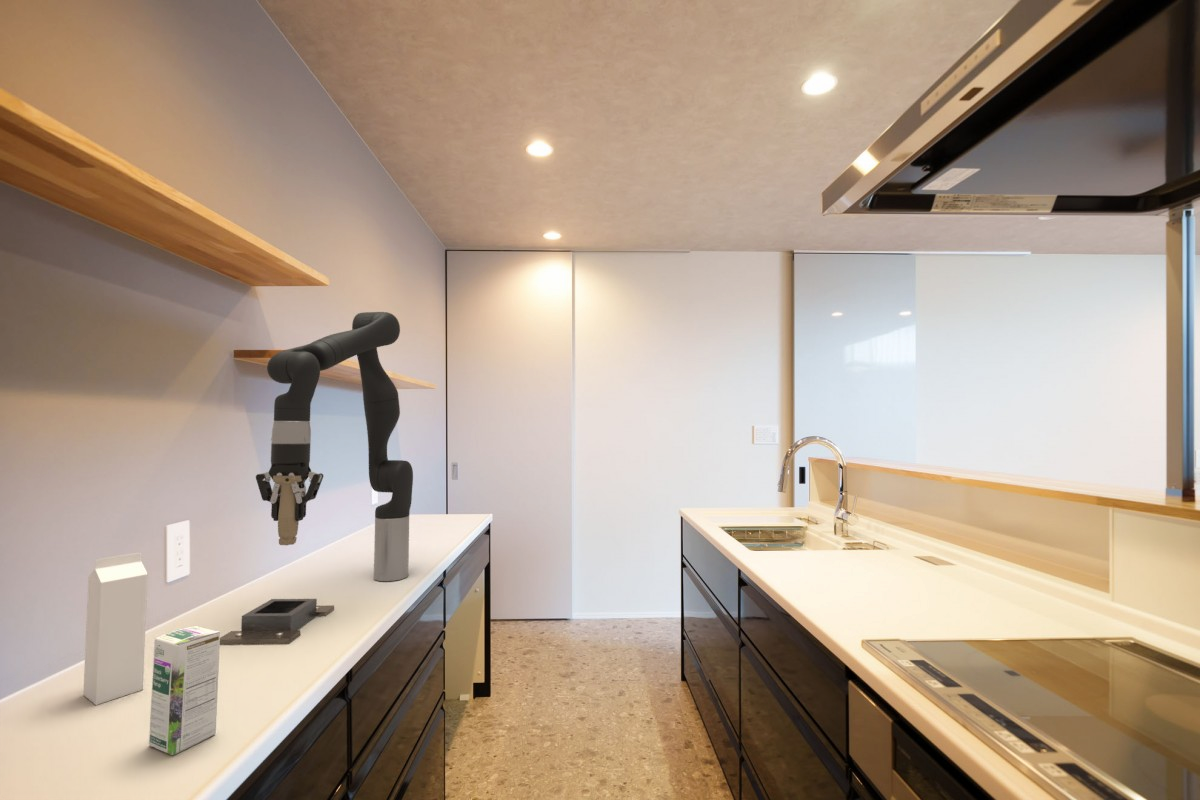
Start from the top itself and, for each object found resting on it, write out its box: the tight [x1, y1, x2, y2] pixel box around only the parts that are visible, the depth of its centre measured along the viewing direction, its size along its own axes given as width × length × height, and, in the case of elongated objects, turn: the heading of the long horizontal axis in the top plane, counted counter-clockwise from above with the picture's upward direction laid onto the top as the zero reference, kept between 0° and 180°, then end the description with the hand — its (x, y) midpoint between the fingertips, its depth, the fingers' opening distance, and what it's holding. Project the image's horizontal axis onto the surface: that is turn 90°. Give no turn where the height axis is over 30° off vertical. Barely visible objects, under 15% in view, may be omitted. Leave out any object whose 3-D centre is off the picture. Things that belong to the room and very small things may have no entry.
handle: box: [272, 476, 307, 546], centre depth 119 cm, size 5×6×15 cm
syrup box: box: [148, 625, 221, 756], centre depth 76 cm, size 6×6×14 cm
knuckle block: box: [220, 598, 335, 646], centre depth 118 cm, size 20×14×4 cm
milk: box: [82, 552, 149, 706], centre depth 89 cm, size 6×6×22 cm
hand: (288, 519), depth 119 cm, fingers closed on handle, 4 cm apart
